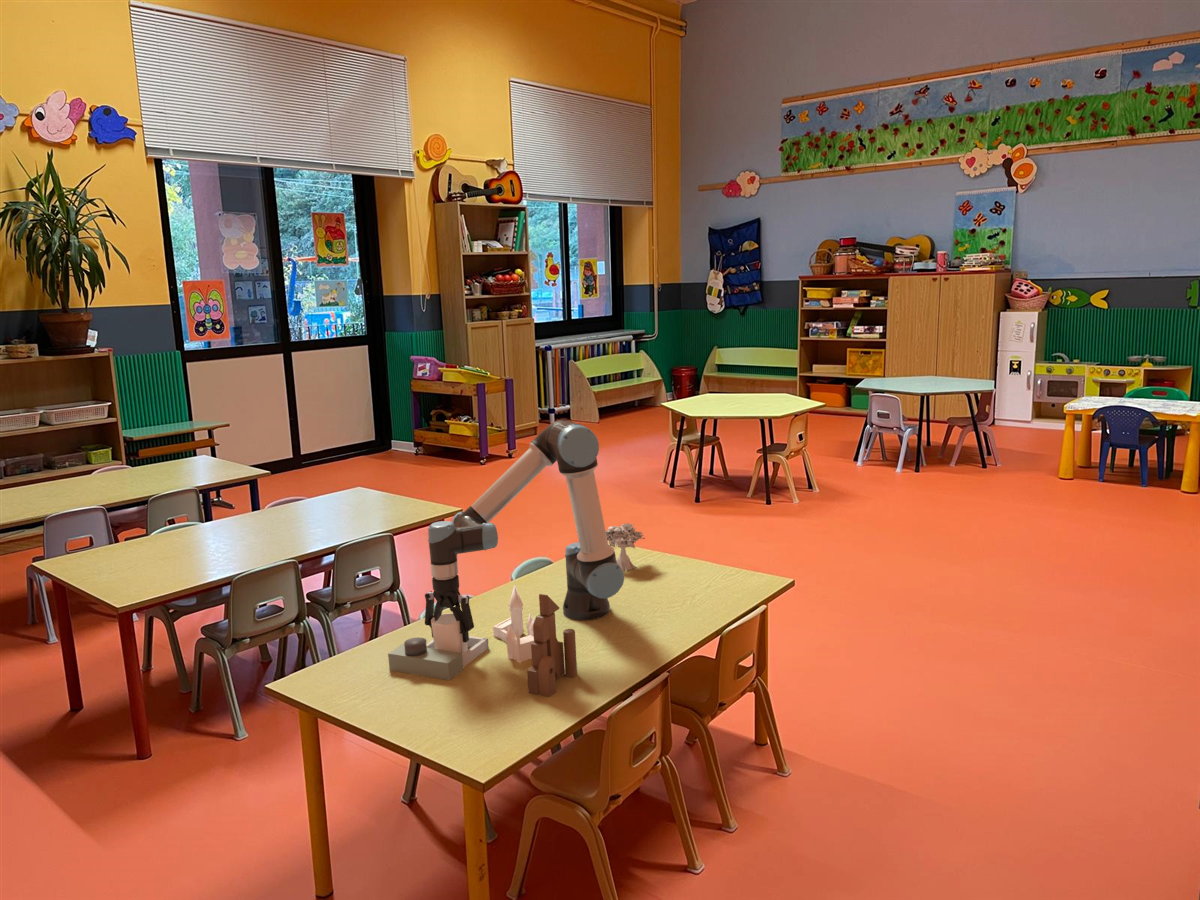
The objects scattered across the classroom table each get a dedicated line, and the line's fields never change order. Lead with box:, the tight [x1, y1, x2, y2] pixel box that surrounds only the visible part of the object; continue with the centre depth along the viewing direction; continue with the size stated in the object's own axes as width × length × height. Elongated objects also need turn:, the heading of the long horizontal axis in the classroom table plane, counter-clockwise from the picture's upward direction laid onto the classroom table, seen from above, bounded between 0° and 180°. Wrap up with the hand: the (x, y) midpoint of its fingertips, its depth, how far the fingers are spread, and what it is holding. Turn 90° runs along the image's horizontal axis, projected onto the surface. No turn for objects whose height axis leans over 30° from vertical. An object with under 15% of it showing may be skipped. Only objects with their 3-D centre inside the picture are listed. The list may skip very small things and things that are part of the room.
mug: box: [431, 612, 461, 653], centre depth 257 cm, size 11×9×10 cm
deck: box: [387, 635, 489, 681], centre depth 255 cm, size 20×22×8 cm
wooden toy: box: [526, 593, 578, 697], centre depth 235 cm, size 16×7×25 cm, turn 152°
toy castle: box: [492, 584, 535, 664], centre depth 263 cm, size 14×25×16 cm, turn 35°
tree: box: [605, 522, 646, 572], centre depth 327 cm, size 18×16×17 cm
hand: (451, 650), depth 258 cm, fingers closed on mug, 8 cm apart
